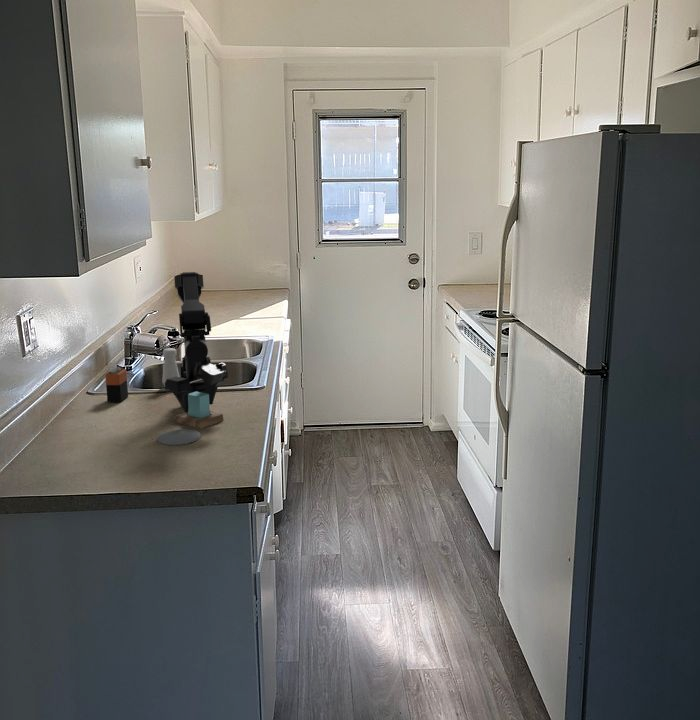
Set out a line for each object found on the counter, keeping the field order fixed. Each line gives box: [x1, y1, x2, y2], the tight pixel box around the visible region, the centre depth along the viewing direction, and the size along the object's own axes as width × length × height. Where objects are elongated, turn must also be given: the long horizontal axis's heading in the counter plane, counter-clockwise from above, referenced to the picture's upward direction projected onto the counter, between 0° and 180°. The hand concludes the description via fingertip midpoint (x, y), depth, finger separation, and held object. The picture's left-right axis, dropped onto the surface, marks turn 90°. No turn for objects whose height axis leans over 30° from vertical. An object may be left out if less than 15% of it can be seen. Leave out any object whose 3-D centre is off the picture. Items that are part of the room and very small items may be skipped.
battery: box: [104, 366, 129, 404], centre depth 232 cm, size 4×7×10 cm, turn 176°
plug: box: [188, 391, 211, 418], centre depth 211 cm, size 5×4×8 cm
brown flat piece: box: [175, 410, 224, 429], centre depth 211 cm, size 10×8×2 cm
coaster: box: [156, 428, 201, 446], centre depth 198 cm, size 11×11×1 cm
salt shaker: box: [161, 347, 181, 387], centre depth 245 cm, size 6×6×13 cm
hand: (198, 408), depth 211 cm, fingers open, 9 cm apart
